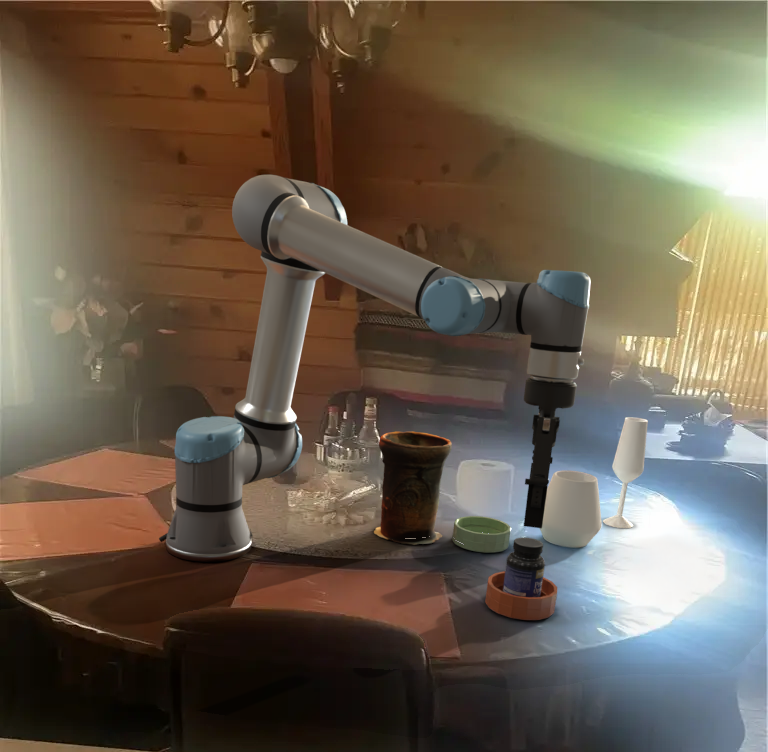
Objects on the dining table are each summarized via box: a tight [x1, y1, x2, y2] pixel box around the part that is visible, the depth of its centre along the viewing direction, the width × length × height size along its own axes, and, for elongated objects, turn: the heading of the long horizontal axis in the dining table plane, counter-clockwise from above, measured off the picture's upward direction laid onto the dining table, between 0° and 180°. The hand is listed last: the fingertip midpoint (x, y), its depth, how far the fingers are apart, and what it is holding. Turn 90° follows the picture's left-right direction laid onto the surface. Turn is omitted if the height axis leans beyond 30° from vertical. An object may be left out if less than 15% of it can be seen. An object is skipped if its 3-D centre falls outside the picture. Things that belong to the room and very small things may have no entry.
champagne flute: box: [602, 416, 649, 529], centre depth 169 cm, size 7×7×24 cm
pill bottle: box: [503, 536, 546, 597], centre depth 123 cm, size 6×6×11 cm
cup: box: [539, 469, 603, 548], centre depth 156 cm, size 13×13×14 cm
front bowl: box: [484, 570, 558, 621], centre depth 124 cm, size 11×11×4 cm
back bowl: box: [452, 515, 512, 553], centre depth 152 cm, size 11×11×4 cm
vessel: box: [373, 431, 453, 546], centre depth 152 cm, size 14×14×20 cm
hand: (533, 513), depth 119 cm, fingers open, 13 cm apart
